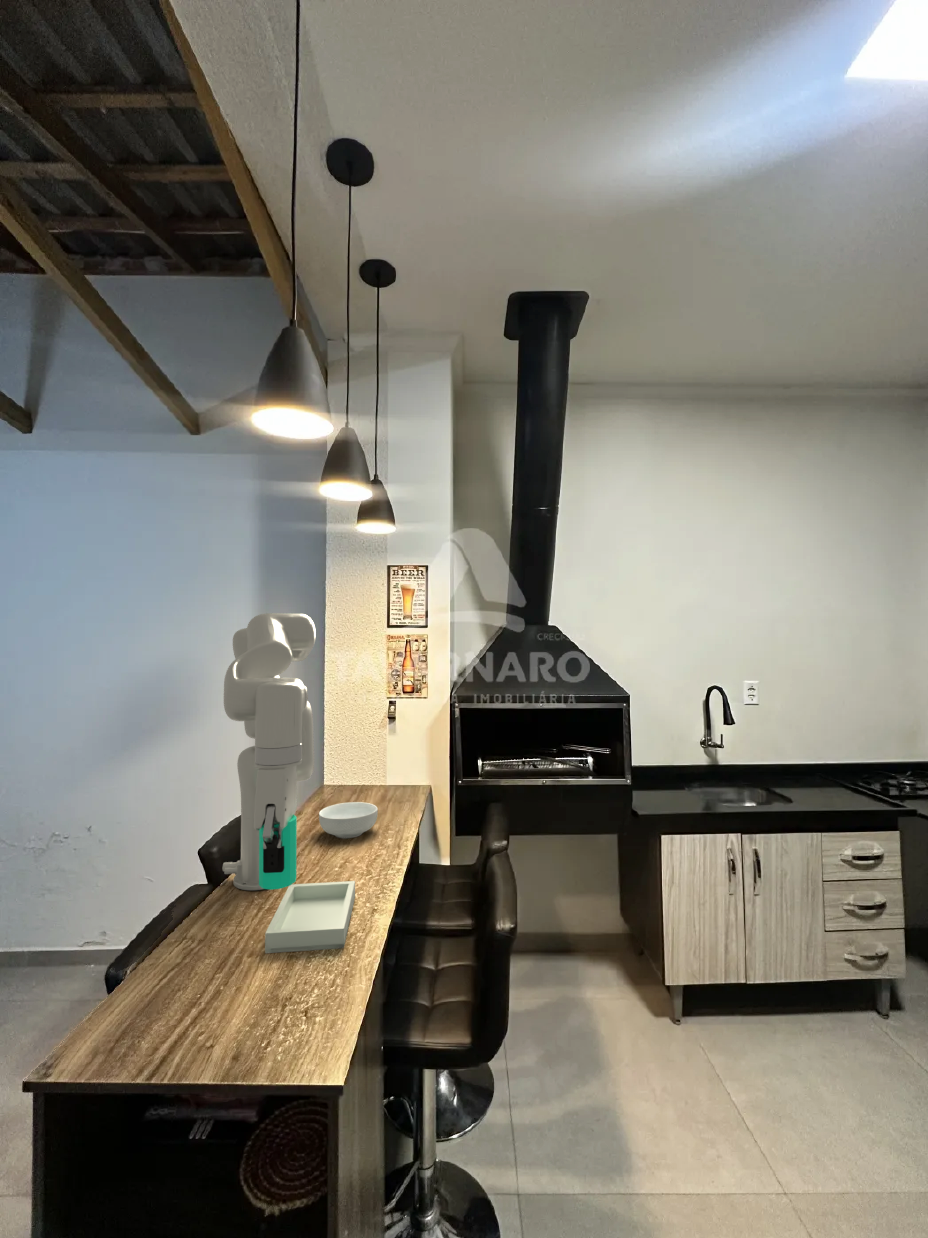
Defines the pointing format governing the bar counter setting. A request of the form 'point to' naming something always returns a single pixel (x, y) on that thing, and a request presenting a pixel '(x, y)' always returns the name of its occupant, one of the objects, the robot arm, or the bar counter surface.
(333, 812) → the cereal bowl
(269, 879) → the candle
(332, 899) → the tray
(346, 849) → the bar counter surface
